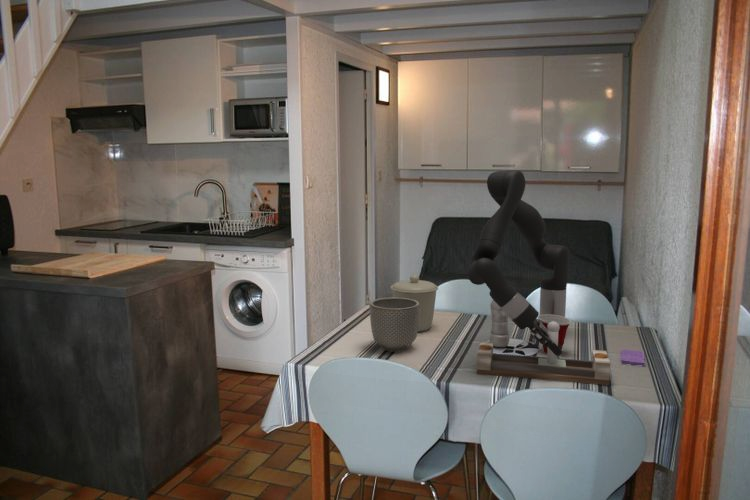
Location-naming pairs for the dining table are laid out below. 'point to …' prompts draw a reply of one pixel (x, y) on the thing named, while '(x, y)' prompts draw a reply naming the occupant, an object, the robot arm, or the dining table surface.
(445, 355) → the dining table surface
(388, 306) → the planter
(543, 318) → the plastic cup
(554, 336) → the carriage
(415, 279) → the canister
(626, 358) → the sponges
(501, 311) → the plastic bottle
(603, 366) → the rail track
